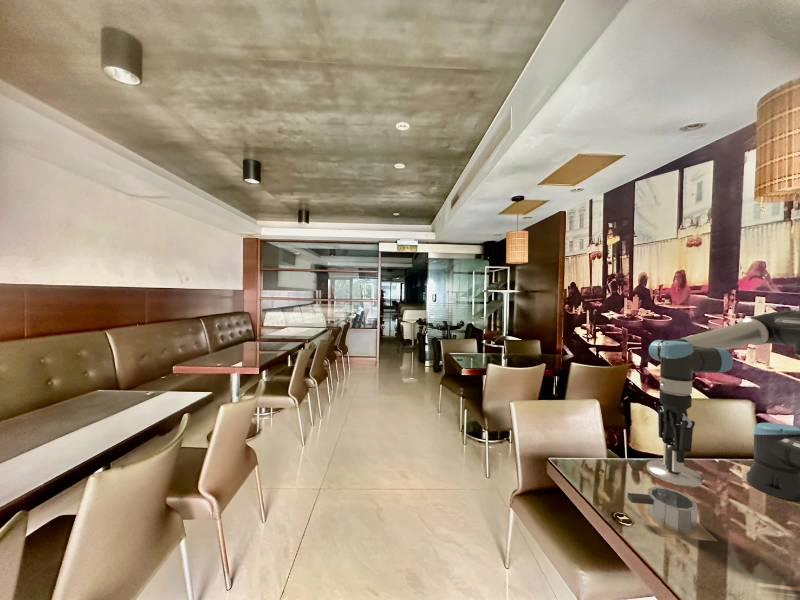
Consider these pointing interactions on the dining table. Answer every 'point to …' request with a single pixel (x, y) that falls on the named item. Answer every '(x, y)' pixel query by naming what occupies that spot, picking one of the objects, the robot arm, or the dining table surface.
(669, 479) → the lid
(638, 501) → the pot
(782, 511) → the dining table surface
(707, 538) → the trivet
